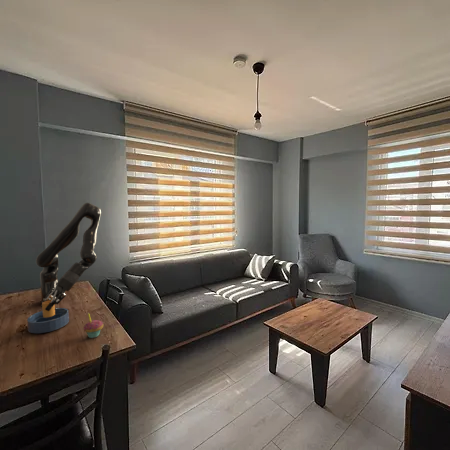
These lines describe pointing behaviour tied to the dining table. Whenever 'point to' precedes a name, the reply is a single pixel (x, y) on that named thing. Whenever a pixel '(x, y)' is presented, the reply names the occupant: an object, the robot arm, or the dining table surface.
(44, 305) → the orange cylinder
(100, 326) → the cupcake
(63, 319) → the bowl
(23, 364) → the dining table surface
